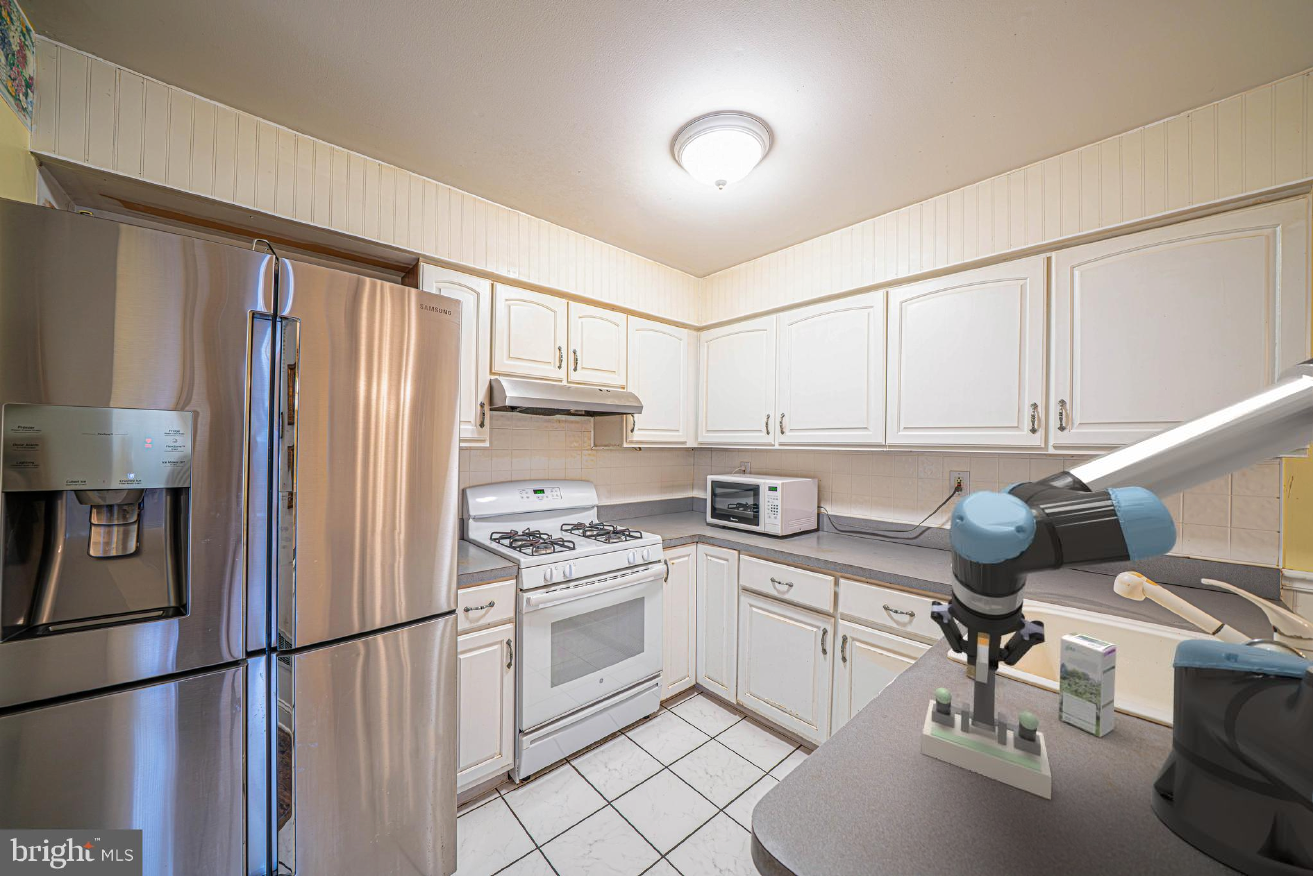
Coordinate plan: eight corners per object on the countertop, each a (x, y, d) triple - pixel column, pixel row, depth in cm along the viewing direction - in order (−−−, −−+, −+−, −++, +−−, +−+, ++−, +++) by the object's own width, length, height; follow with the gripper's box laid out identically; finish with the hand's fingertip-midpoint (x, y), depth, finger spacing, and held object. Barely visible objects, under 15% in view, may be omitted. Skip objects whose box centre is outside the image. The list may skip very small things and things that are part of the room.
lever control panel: (1042, 752, 72) (1043, 693, 72) (1050, 799, 62) (1052, 731, 63) (929, 716, 81) (931, 664, 81) (921, 753, 71) (923, 693, 71)
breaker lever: (995, 733, 71) (996, 643, 76) (995, 732, 70) (997, 641, 74) (971, 725, 73) (974, 638, 78) (971, 725, 71) (974, 636, 76)
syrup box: (1115, 729, 79) (1117, 643, 79) (1099, 739, 76) (1102, 649, 76) (1072, 712, 84) (1075, 630, 84) (1056, 720, 81) (1059, 636, 81)
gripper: (924, 604, 61) (931, 683, 75) (1055, 630, 54) (1035, 713, 67) (930, 556, 66) (935, 639, 79) (1051, 575, 58) (1033, 662, 72)
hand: (981, 673), depth 73 cm, fingers closed
